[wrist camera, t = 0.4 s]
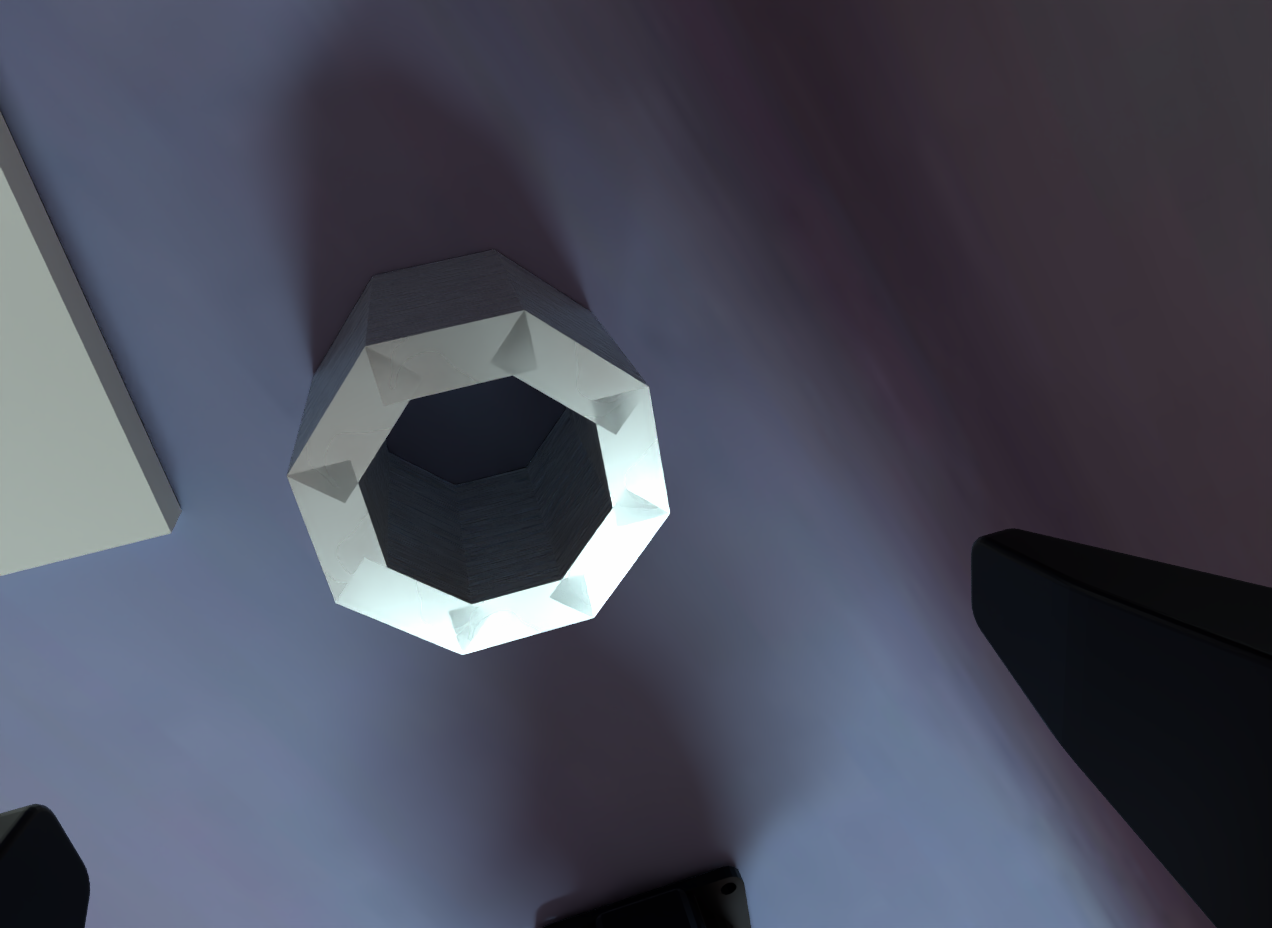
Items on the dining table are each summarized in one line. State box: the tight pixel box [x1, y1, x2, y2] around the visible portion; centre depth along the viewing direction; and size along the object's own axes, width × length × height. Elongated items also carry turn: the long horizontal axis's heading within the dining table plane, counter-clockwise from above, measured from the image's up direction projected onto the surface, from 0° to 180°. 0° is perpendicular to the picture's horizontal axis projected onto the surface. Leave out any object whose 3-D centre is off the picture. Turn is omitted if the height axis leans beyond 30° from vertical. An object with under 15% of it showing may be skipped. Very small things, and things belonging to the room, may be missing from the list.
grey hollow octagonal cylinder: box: [287, 249, 670, 655], centre depth 17 cm, size 6×6×5 cm
